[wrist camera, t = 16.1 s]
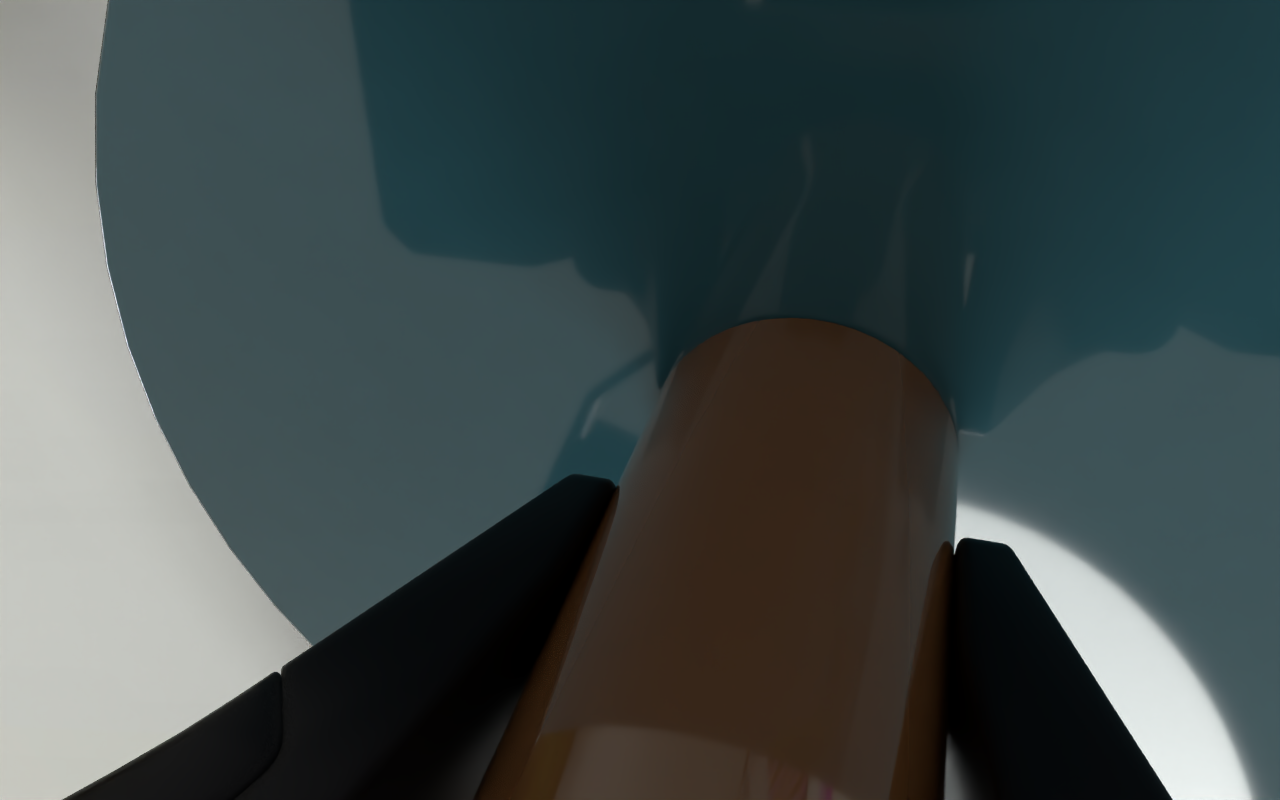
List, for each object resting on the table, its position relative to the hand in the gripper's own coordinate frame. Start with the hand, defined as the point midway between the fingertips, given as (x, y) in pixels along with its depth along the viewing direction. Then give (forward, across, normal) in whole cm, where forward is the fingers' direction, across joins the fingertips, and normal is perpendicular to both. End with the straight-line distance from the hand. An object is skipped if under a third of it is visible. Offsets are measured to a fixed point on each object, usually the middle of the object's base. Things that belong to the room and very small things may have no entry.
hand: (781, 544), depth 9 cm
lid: (+2, 0, 0) cm, 2 cm away
